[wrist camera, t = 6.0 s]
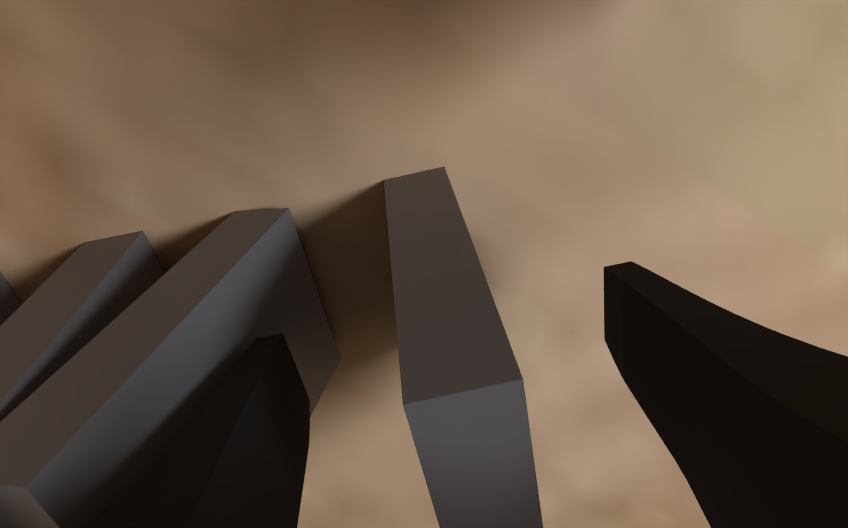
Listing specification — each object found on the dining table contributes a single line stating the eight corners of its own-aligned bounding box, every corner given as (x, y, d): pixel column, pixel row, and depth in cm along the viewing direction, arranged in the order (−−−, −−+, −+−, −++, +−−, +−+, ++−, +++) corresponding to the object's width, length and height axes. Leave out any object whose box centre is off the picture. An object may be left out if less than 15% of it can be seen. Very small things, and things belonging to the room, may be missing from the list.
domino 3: (472, 319, 16) (550, 584, 10) (421, 330, 17) (462, 603, 10) (444, 166, 14) (522, 378, 7) (383, 180, 14) (403, 404, 7)
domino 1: (215, 374, 17) (98, 678, 10) (164, 383, 17) (12, 693, 10) (143, 231, 14) (-87, 507, 7) (83, 243, 14) (-202, 528, 7)
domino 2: (340, 358, 16) (180, 665, 10) (292, 357, 17) (109, 649, 10) (288, 208, 14) (24, 487, 7) (234, 211, 14) (-62, 477, 8)
